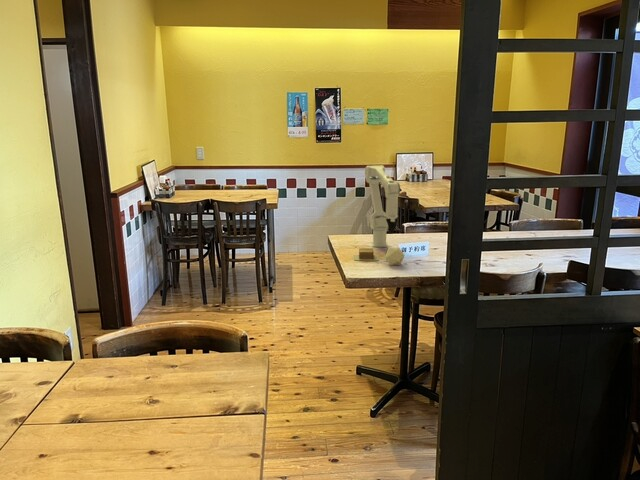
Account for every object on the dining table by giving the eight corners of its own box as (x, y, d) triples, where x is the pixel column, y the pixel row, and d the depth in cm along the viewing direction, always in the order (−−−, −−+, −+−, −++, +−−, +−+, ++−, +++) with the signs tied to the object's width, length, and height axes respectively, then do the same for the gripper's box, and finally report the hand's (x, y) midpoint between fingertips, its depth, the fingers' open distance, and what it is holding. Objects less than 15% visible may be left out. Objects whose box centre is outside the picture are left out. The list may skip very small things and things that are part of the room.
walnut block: (359, 247, 236) (359, 252, 228) (372, 248, 235) (373, 252, 228) (359, 254, 237) (359, 258, 229) (372, 254, 236) (373, 259, 228)
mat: (354, 255, 236) (354, 255, 236) (377, 255, 235) (377, 255, 235) (354, 260, 227) (354, 259, 227) (378, 260, 226) (378, 260, 226)
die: (401, 268, 215) (409, 250, 217) (385, 260, 214) (393, 242, 216) (395, 270, 223) (403, 252, 225) (379, 261, 222) (388, 244, 224)
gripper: (383, 204, 243) (382, 229, 246) (384, 209, 229) (384, 236, 232) (396, 204, 242) (396, 229, 245) (399, 209, 228) (398, 236, 231)
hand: (391, 232), depth 239 cm, fingers closed
